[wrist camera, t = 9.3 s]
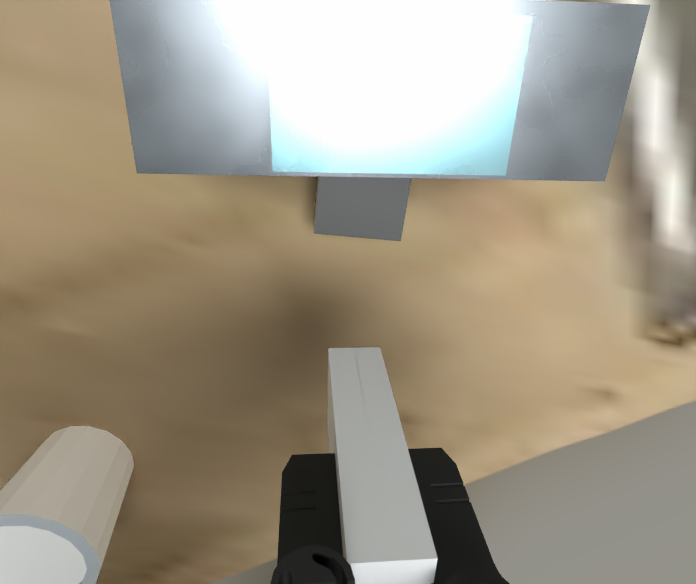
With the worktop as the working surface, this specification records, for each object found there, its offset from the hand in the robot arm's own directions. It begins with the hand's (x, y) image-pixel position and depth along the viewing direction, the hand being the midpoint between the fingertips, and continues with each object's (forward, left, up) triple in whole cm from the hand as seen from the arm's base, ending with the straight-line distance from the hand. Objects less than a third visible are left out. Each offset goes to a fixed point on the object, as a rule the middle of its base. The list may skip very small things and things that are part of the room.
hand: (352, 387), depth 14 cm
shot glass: (-15, -14, -12) cm, 25 cm away
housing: (+1, +8, -12) cm, 15 cm away
